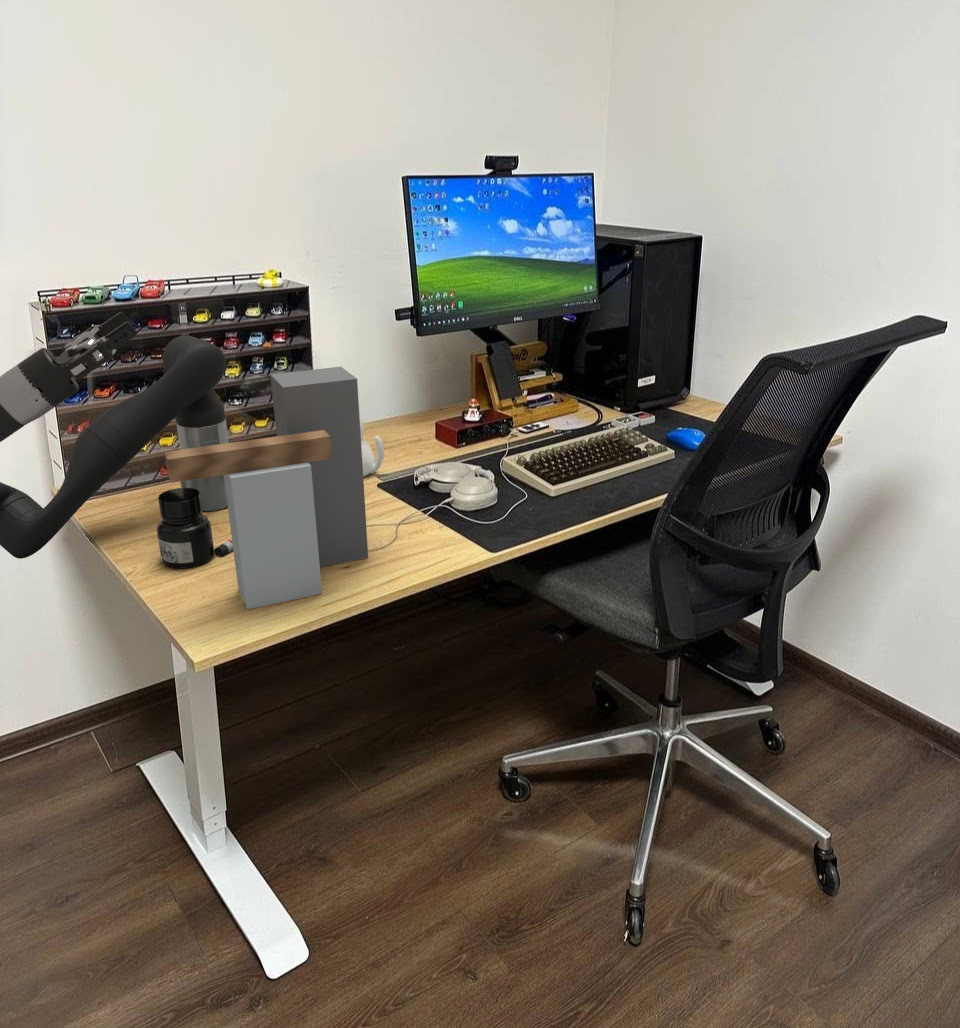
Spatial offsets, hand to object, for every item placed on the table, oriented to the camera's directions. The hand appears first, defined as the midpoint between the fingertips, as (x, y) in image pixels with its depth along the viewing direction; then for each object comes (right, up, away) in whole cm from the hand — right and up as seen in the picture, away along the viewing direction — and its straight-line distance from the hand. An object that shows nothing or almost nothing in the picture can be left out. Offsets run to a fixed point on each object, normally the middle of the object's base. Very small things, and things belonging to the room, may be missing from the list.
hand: (129, 322), depth 130 cm
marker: (+8, -33, +33) cm, 48 cm away
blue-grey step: (+19, -41, +14) cm, 47 cm away
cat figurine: (+24, -19, +64) cm, 72 cm away
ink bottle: (0, -36, +26) cm, 45 cm away
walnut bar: (+17, -21, +5) cm, 27 cm away
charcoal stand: (+24, -35, +27) cm, 51 cm away
